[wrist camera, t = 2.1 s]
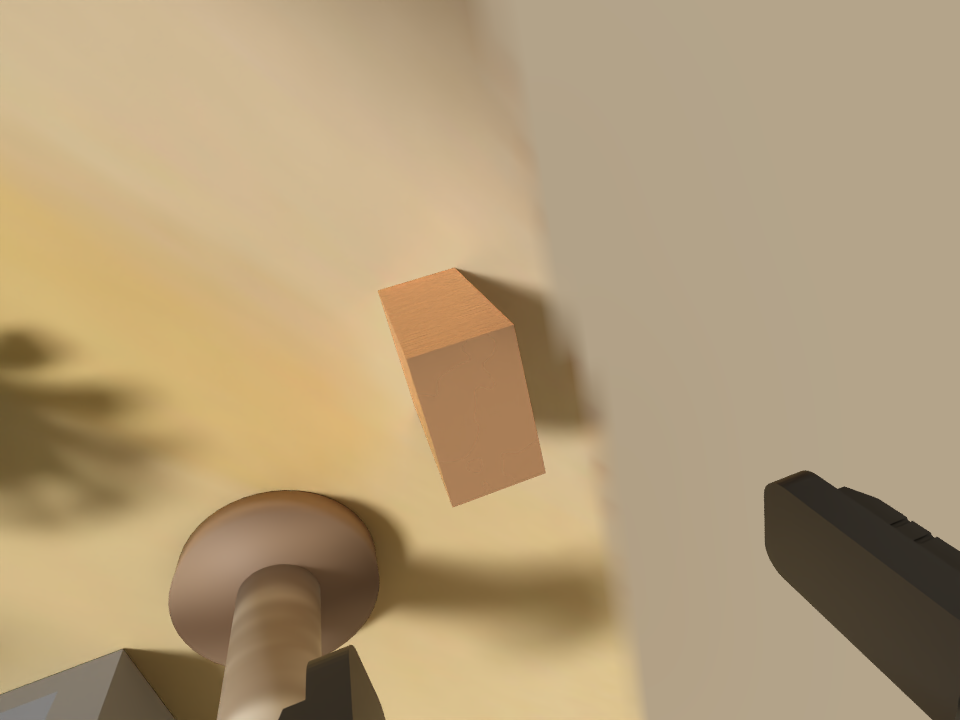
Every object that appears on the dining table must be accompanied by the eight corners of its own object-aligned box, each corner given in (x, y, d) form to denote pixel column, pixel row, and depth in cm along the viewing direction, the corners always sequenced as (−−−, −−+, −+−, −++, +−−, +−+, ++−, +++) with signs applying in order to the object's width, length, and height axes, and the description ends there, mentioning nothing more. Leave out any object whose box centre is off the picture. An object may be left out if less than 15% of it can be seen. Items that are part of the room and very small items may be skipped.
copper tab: (377, 290, 21) (406, 359, 15) (454, 267, 21) (514, 324, 15) (414, 404, 23) (452, 507, 17) (483, 381, 24) (545, 472, 17)
